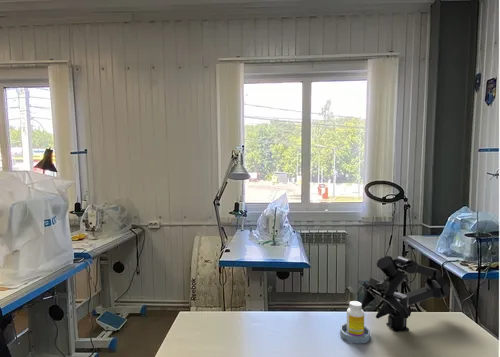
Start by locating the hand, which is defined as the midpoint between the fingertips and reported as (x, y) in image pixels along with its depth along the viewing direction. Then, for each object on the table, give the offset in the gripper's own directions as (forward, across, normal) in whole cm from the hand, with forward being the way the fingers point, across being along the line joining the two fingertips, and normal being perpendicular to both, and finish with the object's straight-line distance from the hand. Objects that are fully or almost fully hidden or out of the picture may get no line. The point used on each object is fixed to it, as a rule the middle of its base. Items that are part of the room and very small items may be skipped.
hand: (368, 312), depth 132 cm
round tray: (+11, 0, +1) cm, 11 cm away
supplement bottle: (+10, 0, +1) cm, 10 cm away
